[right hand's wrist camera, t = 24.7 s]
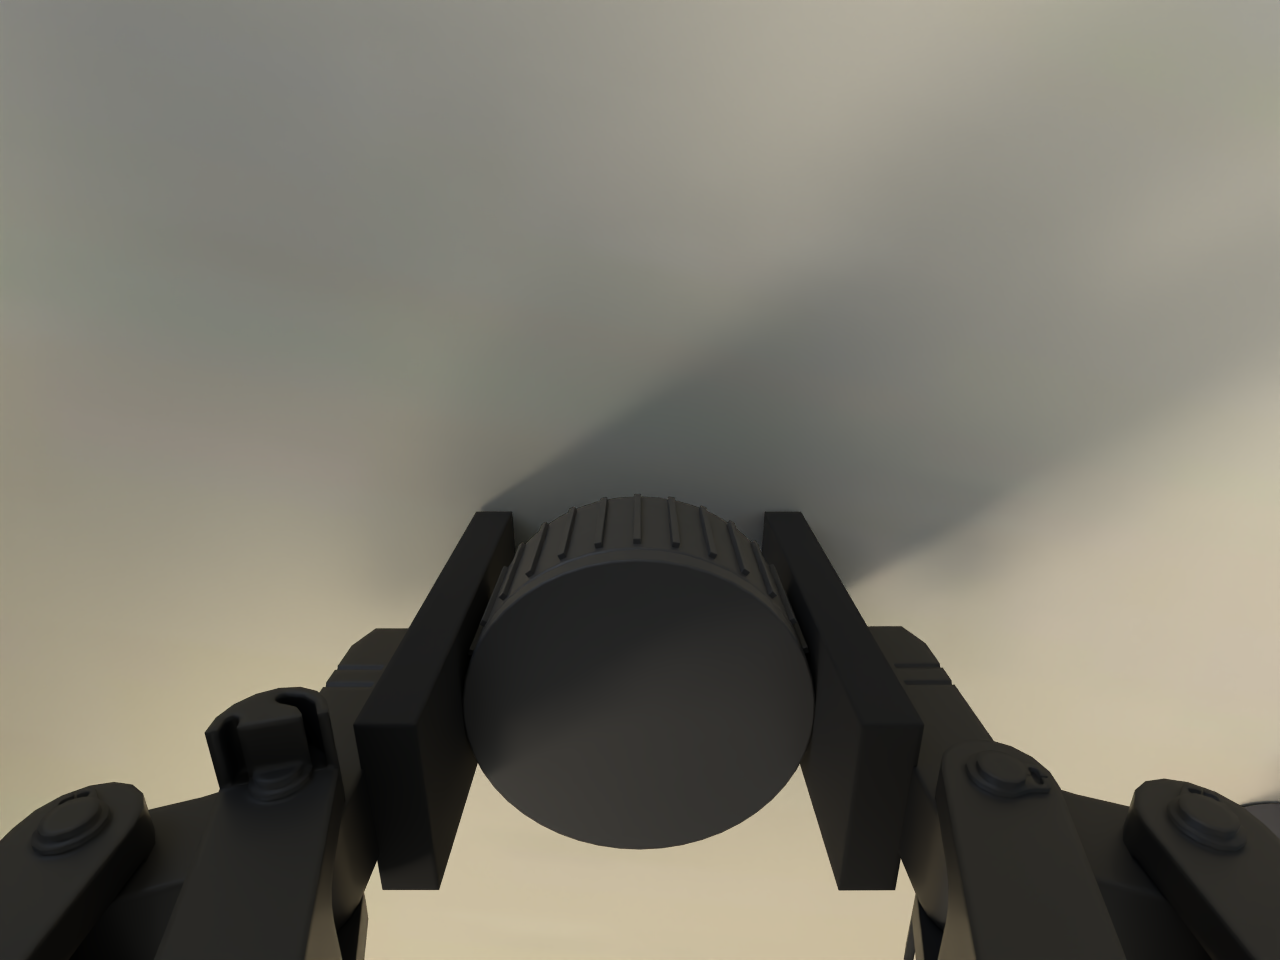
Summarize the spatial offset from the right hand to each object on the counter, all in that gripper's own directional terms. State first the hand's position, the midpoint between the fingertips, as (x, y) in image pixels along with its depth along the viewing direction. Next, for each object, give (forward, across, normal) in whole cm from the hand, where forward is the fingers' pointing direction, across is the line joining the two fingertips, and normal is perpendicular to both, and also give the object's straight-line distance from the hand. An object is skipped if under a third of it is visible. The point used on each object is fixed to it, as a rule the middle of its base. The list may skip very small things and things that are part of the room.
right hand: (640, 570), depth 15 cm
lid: (-4, 0, 0) cm, 4 cm away
